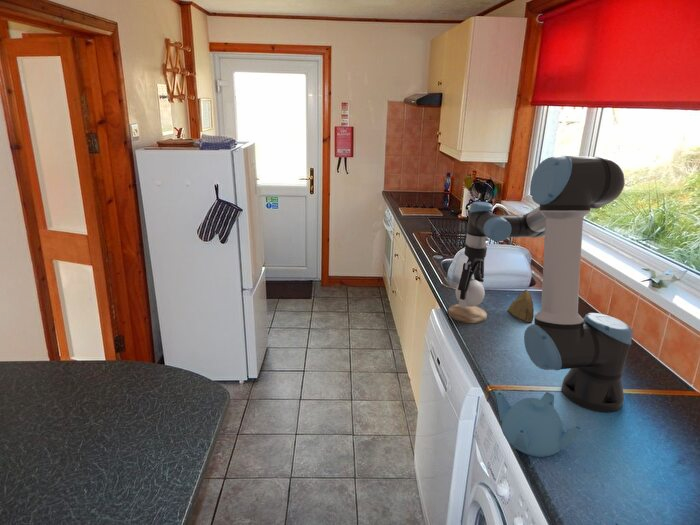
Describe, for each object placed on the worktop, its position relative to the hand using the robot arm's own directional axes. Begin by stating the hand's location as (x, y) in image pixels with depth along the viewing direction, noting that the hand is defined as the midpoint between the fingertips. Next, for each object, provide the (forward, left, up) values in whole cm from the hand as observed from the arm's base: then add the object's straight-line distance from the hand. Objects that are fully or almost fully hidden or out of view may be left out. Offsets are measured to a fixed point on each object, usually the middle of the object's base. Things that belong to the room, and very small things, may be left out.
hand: (468, 301), depth 173 cm
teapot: (-54, -41, -6) cm, 68 cm away
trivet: (0, 0, -5) cm, 5 cm away
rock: (+12, -16, -6) cm, 21 cm away
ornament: (0, 0, -2) cm, 2 cm away
